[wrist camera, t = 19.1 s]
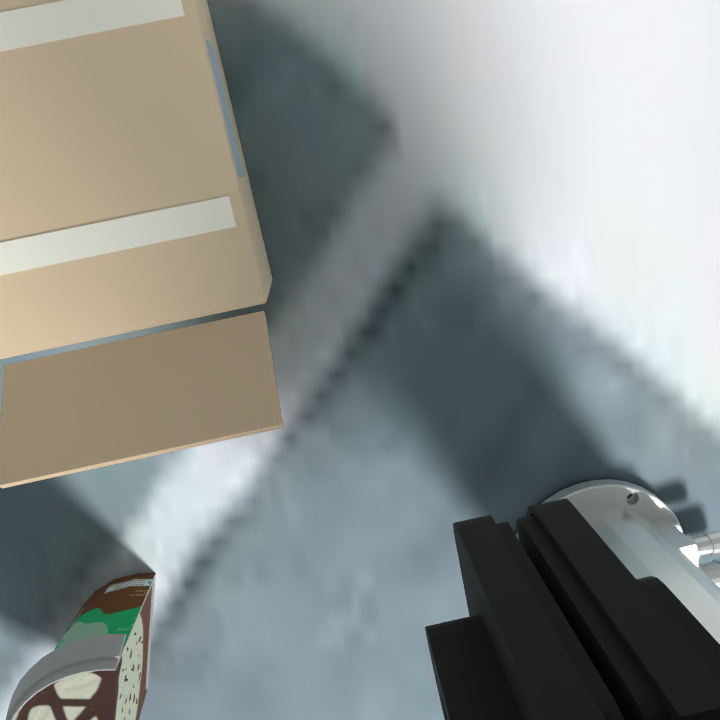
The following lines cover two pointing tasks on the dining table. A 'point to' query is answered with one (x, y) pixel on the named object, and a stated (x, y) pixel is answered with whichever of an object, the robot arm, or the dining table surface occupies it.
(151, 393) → the flap
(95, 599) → the food container
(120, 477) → the dining table surface
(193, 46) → the carton
